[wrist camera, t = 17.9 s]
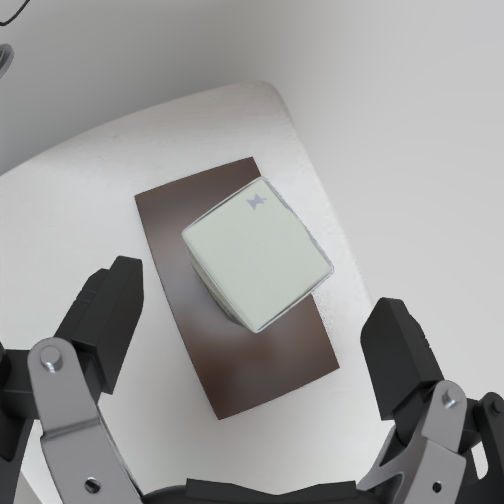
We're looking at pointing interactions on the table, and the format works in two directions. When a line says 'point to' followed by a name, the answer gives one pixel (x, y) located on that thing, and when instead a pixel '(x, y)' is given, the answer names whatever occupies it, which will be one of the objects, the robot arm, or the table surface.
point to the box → (255, 256)
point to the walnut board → (211, 316)
